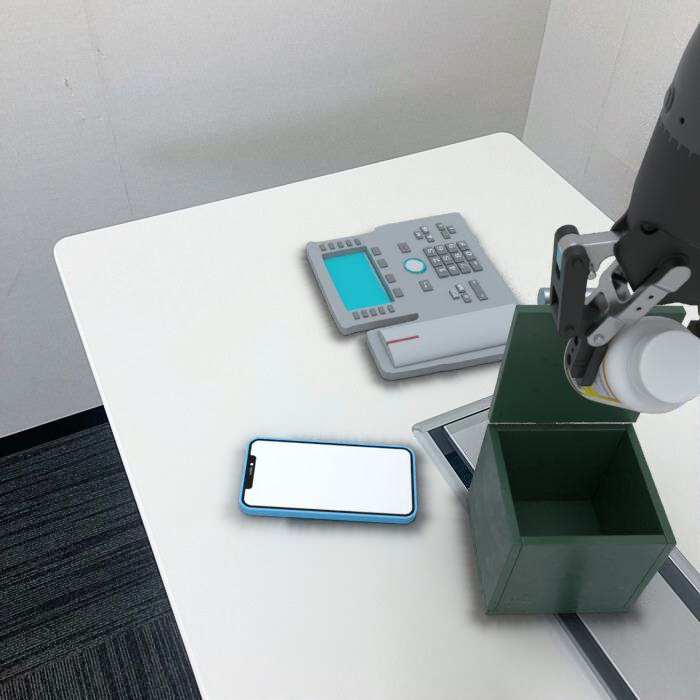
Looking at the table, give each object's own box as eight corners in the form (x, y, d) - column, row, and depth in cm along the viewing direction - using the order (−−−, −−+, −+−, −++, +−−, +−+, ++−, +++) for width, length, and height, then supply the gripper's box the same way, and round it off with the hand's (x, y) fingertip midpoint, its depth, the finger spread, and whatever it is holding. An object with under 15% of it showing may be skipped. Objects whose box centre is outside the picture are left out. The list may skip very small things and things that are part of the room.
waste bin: (628, 612, 59) (677, 543, 51) (485, 614, 58) (512, 545, 51) (594, 498, 66) (632, 422, 58) (466, 499, 66) (487, 423, 58)
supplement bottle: (658, 350, 50) (748, 355, 40) (610, 418, 50) (687, 440, 40) (592, 301, 50) (666, 293, 40) (543, 369, 50) (605, 379, 40)
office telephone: (552, 335, 77) (366, 375, 72) (546, 352, 79) (364, 392, 74) (460, 202, 91) (301, 228, 87) (456, 219, 93) (301, 246, 88)
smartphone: (417, 519, 63) (237, 508, 63) (415, 526, 64) (238, 516, 63) (414, 446, 68) (248, 436, 68) (412, 454, 69) (248, 444, 69)
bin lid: (687, 313, 50) (662, 266, 54) (518, 312, 49) (504, 265, 53) (636, 423, 58) (617, 376, 61) (489, 423, 57) (478, 376, 61)
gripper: (615, 167, 30) (525, 425, 43) (954, 173, 31) (771, 425, 43) (570, 79, 36) (502, 331, 48) (862, 86, 36) (722, 332, 49)
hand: (630, 375), depth 46 cm, fingers closed on supplement bottle, 5 cm apart
